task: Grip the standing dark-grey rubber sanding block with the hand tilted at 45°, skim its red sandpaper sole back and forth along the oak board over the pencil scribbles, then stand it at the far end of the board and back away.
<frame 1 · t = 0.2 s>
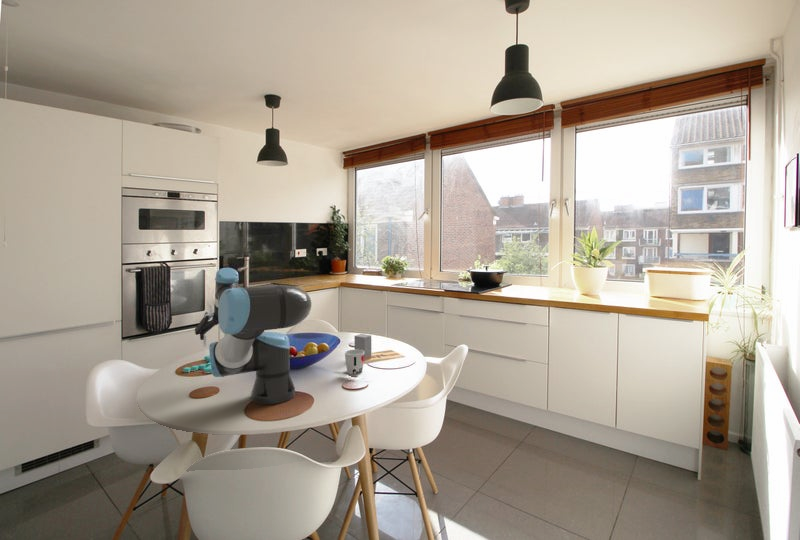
hand: (222, 341, 164), 15 cm above the table, tool tilted 35°, fingers open, 13 cm apart
oak board: (376, 359, 192), on the table
alien figure: (217, 367, 182), on the table
cup: (354, 375, 170), on the table
sanding block: (363, 358, 188), point 1 cm above the table, touching oak board
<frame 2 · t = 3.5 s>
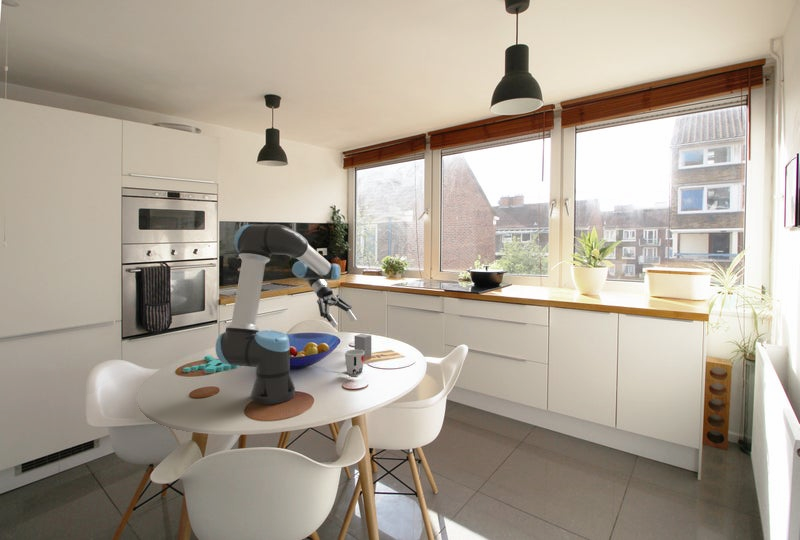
hand: (345, 323, 193), 17 cm above the table, tool tilted 45°, fingers open, 13 cm apart
nothing on the table moved.
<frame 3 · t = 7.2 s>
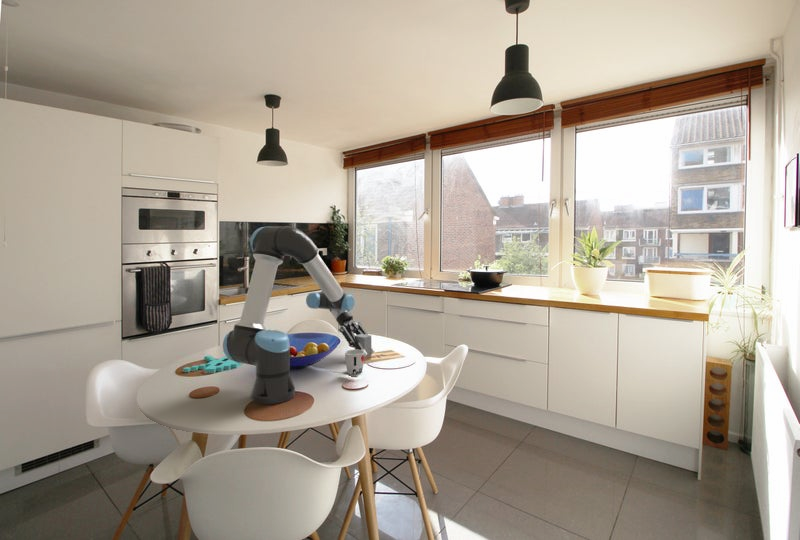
hand: (369, 354, 186), 4 cm above the table, tool tilted 45°, fingers closed on sanding block, 5 cm apart
sanding block: (362, 358, 188), point 1 cm above the table, touching gripper, oak board
everything else where it was.
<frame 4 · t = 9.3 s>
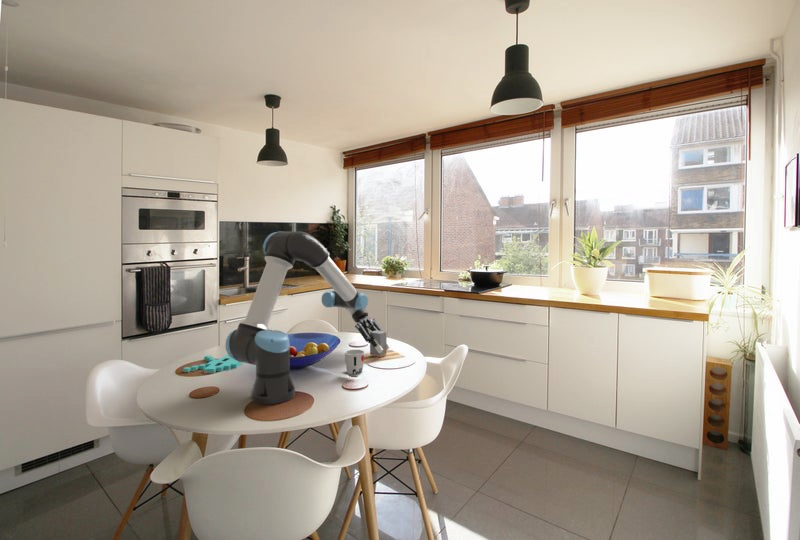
hand: (384, 350, 191), 5 cm above the table, tool tilted 45°, fingers closed on sanding block, 5 cm apart
sanding block: (378, 354, 193), point 2 cm above the table, touching gripper
everything else where it was.
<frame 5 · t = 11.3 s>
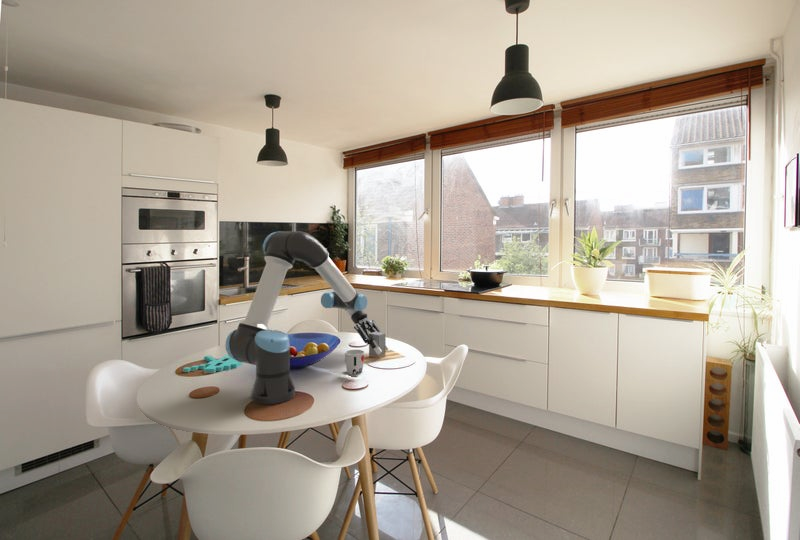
hand: (383, 351, 190), 4 cm above the table, tool tilted 45°, fingers closed on sanding block, 5 cm apart
sanding block: (377, 356, 192), point 2 cm above the table, touching gripper
everything else where it was.
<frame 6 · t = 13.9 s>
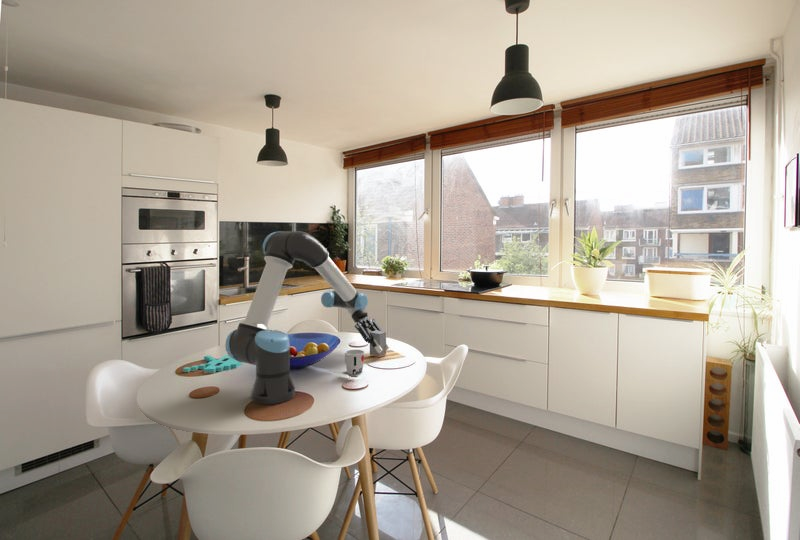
hand: (384, 350, 190), 5 cm above the table, tool tilted 45°, fingers closed on sanding block, 5 cm apart
sanding block: (377, 354, 193), point 2 cm above the table, touching gripper
everything else where it was.
when the fingers open (4 cm above the table, at t = 15.4 s): sanding block stays where it is, resting on oak board.
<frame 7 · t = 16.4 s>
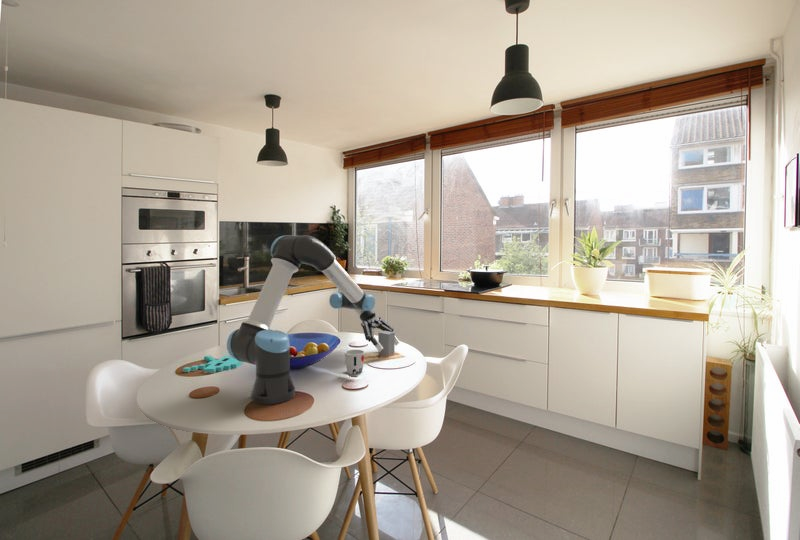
hand: (389, 347, 193), 6 cm above the table, tool tilted 45°, fingers open, 13 cm apart
sanding block: (386, 355, 195), point 2 cm above the table, touching oak board
everything else where it was.
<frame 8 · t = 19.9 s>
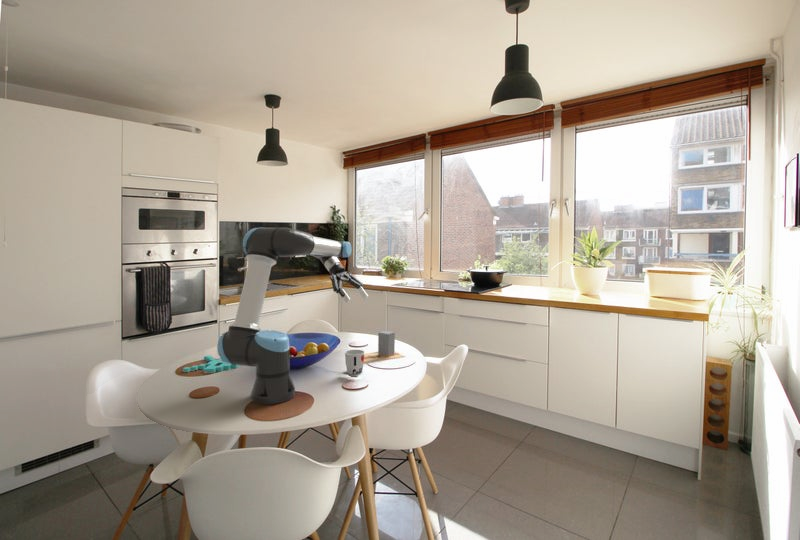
hand: (357, 299, 198), 28 cm above the table, tool tilted 45°, fingers open, 13 cm apart
nothing on the table moved.
at the end: sanding block inside the target area (0.4 cm from its centre), point 1.5 cm above the table; sanding block tilted 1°; the gripper is holding nothing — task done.
